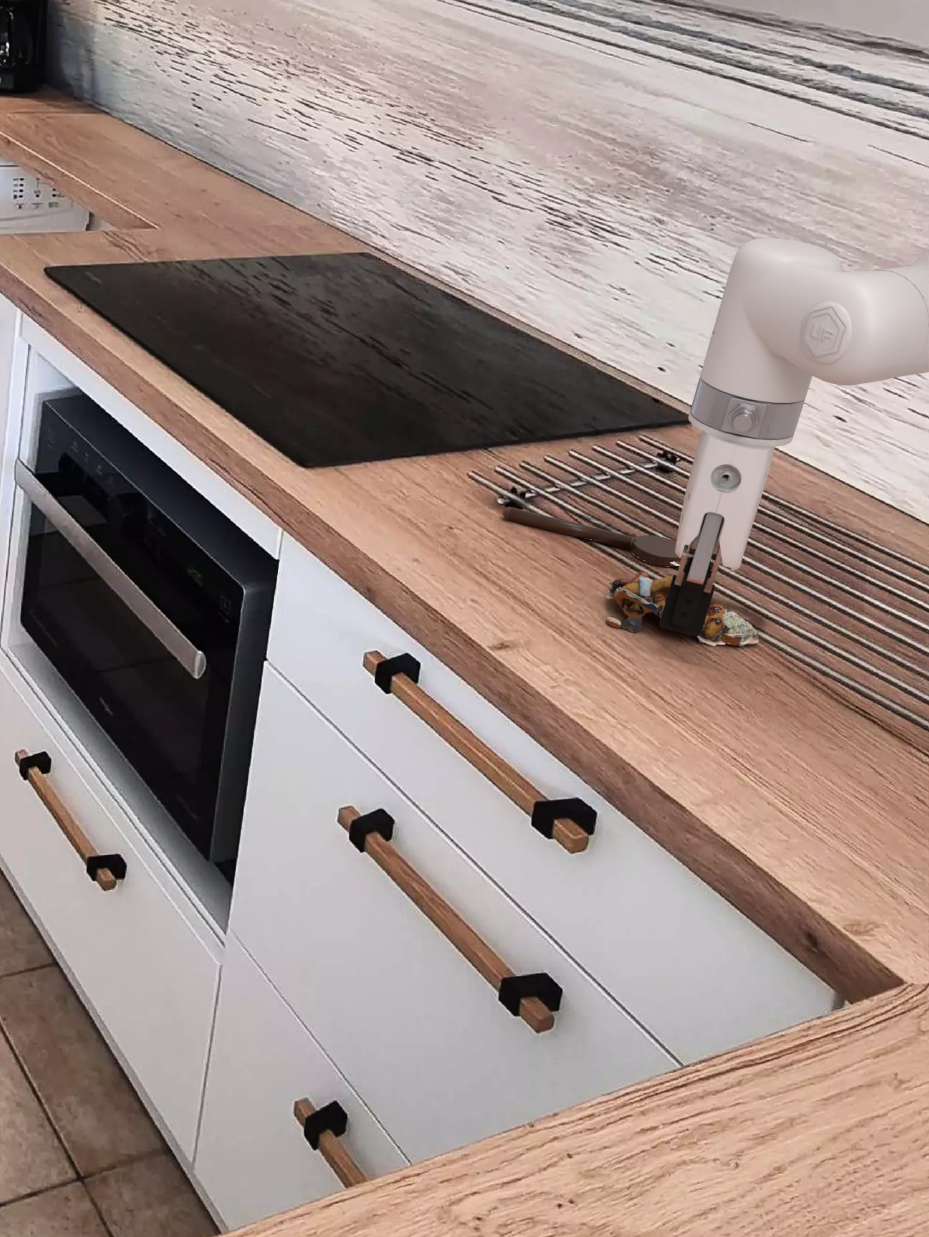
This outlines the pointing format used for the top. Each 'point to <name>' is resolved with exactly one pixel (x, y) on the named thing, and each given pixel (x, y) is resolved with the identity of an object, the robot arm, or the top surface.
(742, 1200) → the top surface
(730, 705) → the top surface
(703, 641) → the pastry
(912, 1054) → the top surface
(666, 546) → the walnut spoon
